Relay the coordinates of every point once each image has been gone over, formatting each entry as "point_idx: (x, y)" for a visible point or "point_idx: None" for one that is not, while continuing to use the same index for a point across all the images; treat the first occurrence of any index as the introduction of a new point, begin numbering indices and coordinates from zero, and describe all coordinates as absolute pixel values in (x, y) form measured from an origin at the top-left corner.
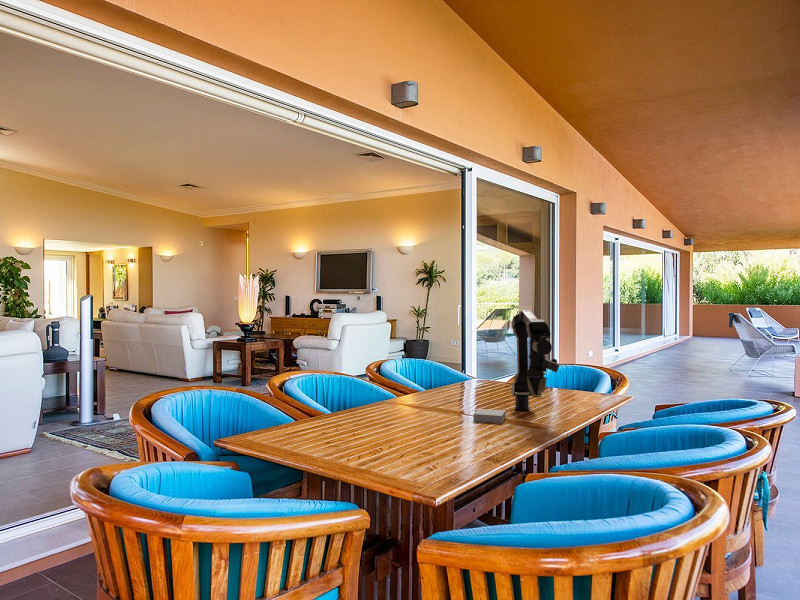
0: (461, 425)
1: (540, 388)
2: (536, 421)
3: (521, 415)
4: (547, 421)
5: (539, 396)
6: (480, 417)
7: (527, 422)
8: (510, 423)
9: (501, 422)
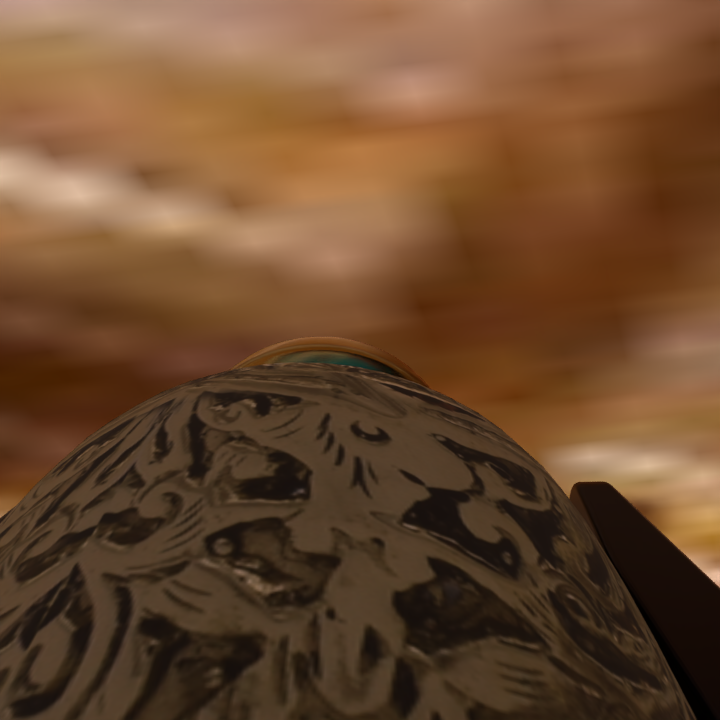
0: None
1: (605, 557)
2: (317, 193)
3: (37, 404)
4: (244, 28)
5: (422, 380)
6: None
7: (429, 293)
8: (543, 445)
9: None
